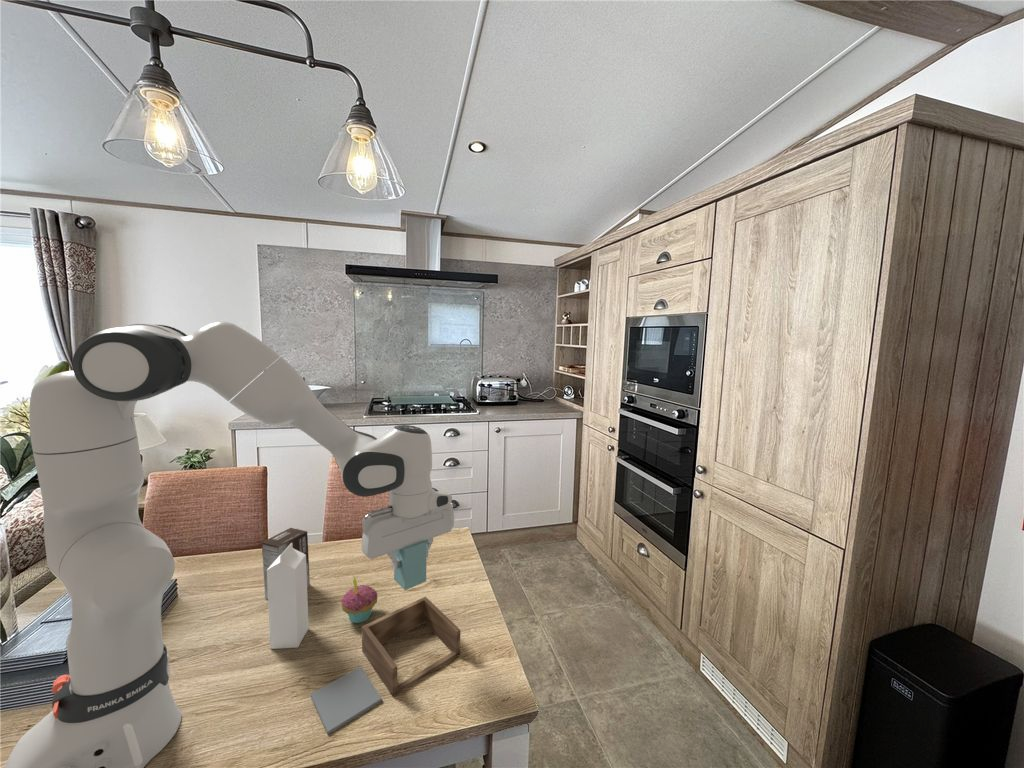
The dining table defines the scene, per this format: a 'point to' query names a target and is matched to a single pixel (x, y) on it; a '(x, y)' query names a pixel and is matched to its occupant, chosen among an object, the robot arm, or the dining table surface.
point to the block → (411, 565)
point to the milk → (287, 599)
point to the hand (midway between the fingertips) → (410, 562)
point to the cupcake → (359, 602)
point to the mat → (345, 699)
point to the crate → (398, 625)
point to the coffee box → (279, 544)
